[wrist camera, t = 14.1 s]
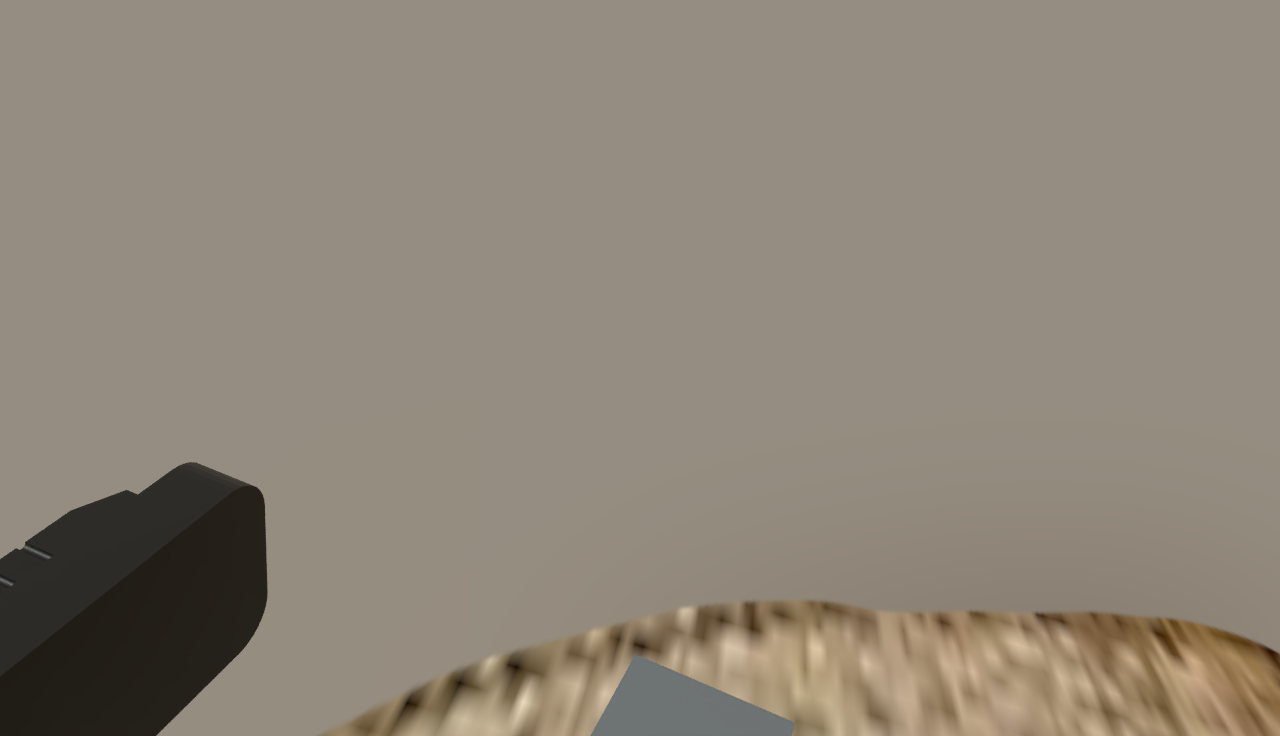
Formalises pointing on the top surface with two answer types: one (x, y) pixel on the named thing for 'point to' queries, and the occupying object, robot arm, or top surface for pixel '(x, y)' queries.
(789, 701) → the top surface
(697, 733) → the tall grey pillar
